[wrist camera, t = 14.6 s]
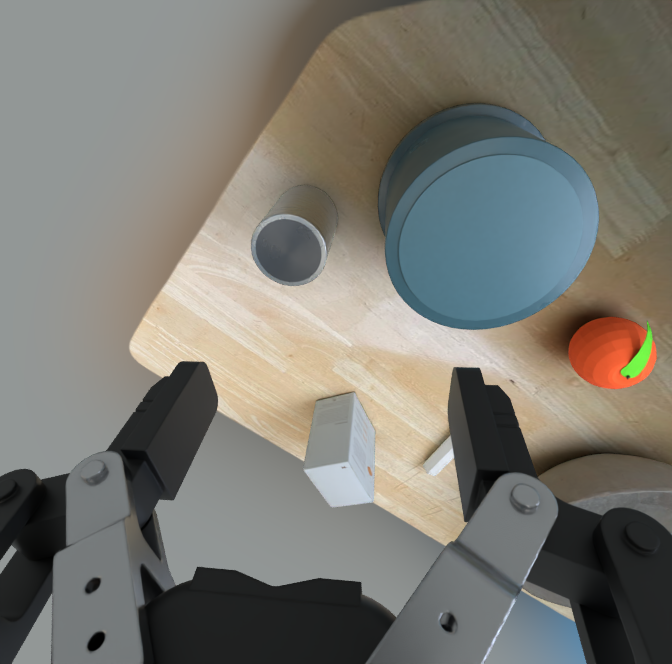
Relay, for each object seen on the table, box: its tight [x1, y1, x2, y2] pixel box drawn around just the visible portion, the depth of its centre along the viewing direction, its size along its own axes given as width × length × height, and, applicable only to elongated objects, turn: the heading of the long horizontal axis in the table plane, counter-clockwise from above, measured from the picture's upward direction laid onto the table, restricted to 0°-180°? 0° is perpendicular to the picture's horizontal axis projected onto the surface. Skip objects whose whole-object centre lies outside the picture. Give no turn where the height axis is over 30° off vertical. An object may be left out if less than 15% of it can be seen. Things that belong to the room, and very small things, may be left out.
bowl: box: [522, 454, 672, 608], centre depth 51 cm, size 28×28×10 cm
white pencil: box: [423, 435, 454, 476], centre depth 50 cm, size 3×2×16 cm
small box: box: [303, 392, 375, 507], centre depth 47 cm, size 8×6×10 cm
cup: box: [251, 185, 338, 286], centre depth 33 cm, size 6×6×8 cm
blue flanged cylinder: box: [378, 103, 599, 330], centre depth 29 cm, size 14×14×11 cm
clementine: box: [568, 317, 657, 389], centre depth 37 cm, size 8×7×7 cm
